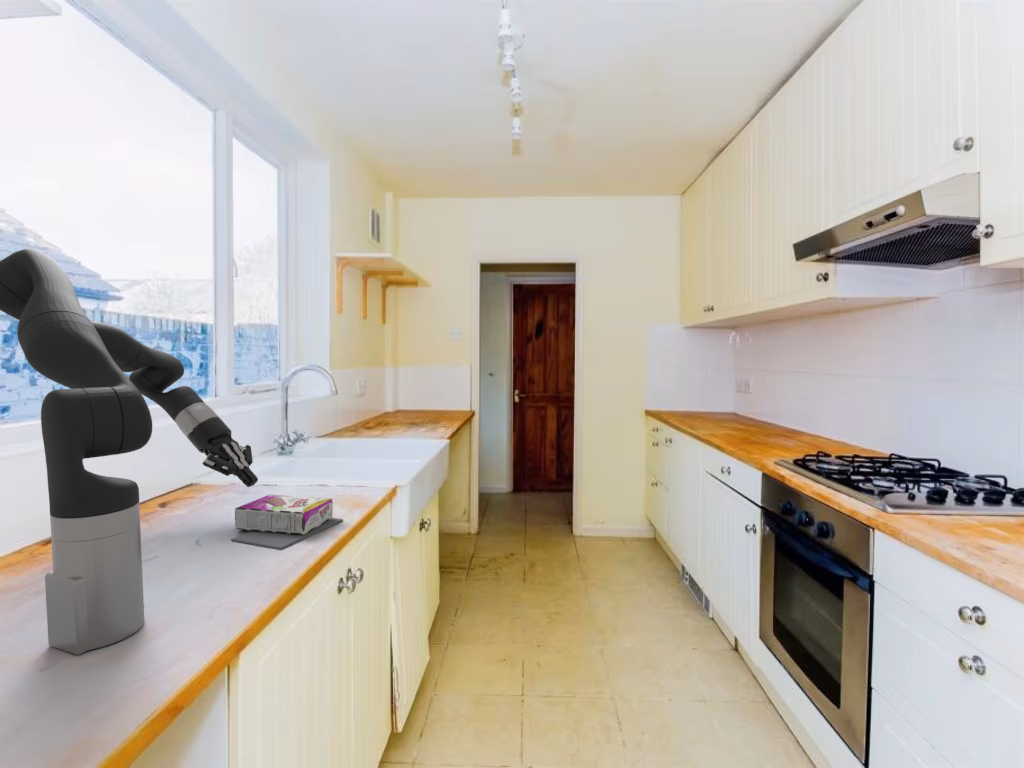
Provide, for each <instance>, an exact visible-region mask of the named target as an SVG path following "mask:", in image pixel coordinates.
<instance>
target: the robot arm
mask: <svg viewBox="0 0 1024 768" xmlns="http://www.w3.org/2000/svg"><path fill="white" fill-rule="evenodd" d="M0 311H1V312H3V313H4V314H5V315H6V314H7V315H8V316H10V317H12V318H14V319H15V320H17V321H18V324H17V330H16V332H17V333H16V335H17V340H18V344H19V346H20V347H21V350H22V351H23V352H22V353H23V354H24V356H25V359H26V361H27V363H29V365H30V366H31V367H32V369H34V370H35V371H36V372H37V373H38V374H40V375H42V376H43V377H46V378H47V379H49V380H51V381H53V382H55V383H57V384H60V385H61V386H64V387H66V388H62V389H61V388H60V389H59V388H58V389H54V390H51V391H50V392H48V393H47V394H46V395H45V397H44V399H43V400H42V403H41V409H40V423H41V424H40V425H41V434H42V440H43V449H44V454H45V455H44V456H45V465H46V475H47V476H46V478H47V488H48V489H47V491H48V499H49V500H48V503H49V514H50V515H49V517H50V522H49V523H50V536H51V538H50V539H51V540H50V541H51V555H52V556H51V557H52V571H50V572H47V573H46V574H45V575H44V584H45V605H46V620H47V621H46V623H47V639H48V646H50V647H53V648H56V649H59V650H62V651H65V652H68V653H71V654H74V655H75V656H76V655H80V654H83V653H85V652H87V651H90V650H94V649H99V648H103V647H106V646H108V645H109V646H110V645H112V644H115V643H117V642H119V641H122V640H124V639H127V638H128V637H130V636H132V635H134V634H135V633H136V632H138V631H139V630H140V629H141V628H142V627H143V626H144V624H145V602H144V580H143V579H144V578H143V560H142V559H143V555H142V554H143V553H142V535H141V534H142V533H141V532H142V530H141V509H140V507H141V506H140V504H141V503H140V491H139V490H140V489H139V485H138V483H137V482H136V481H134V480H132V479H129V478H123V477H115V476H114V477H113V476H105V475H102V474H101V475H100V474H97V473H93V472H91V471H89V470H87V469H85V466H84V461H83V460H84V459H92V458H93V459H94V458H100V457H108V456H116V455H122V454H128V453H131V452H135V451H138V450H141V449H142V448H144V447H145V446H146V445H147V444H148V443H149V441H150V439H151V438H152V434H153V419H152V414H151V411H150V408H149V406H148V403H147V401H146V400H145V398H147V399H148V400H151V401H153V402H154V403H155V404H157V405H158V406H159V407H160V408H162V410H163V411H165V412H166V413H167V414H168V416H169V417H170V418H171V419H172V420H173V422H174V423H175V424H176V425H177V427H178V428H179V430H180V431H181V433H182V434H183V435H184V436H185V437H186V439H188V440H189V442H191V444H192V446H193V447H195V449H197V451H198V452H200V453H202V454H205V456H206V458H205V459H204V461H202V465H203V466H205V467H207V468H208V469H211V470H213V471H216V472H218V473H220V474H222V475H224V476H227V477H229V476H230V475H233V476H234V477H237V478H238V479H239V480H240V481H241V482H242V483H243V485H245V486H246V487H247V488H250V487H253V486H255V485H256V483H257V482H258V481H259V478H258V477H257V475H256V474H255V473H254V472H253V471H252V470H251V469H250V466H251V465H252V464H253V463H254V460H253V453H252V452H253V451H252V447H251V445H249V444H246V445H245V446H242V445H239V442H237V441H236V440H235V439H233V438H232V430H231V429H230V428H229V426H227V424H226V423H225V422H224V420H223V419H222V418H221V417H220V416H219V415H218V414H217V413H216V412H215V411H214V410H213V409H212V408H211V407H210V406H209V405H208V404H206V403H205V401H204V400H203V399H202V398H201V397H200V396H199V394H197V392H196V391H195V390H194V389H193V388H192V387H190V386H187V385H182V386H177V387H175V388H173V389H170V390H168V391H165V390H167V389H168V388H169V387H171V386H173V385H174V384H175V383H176V382H177V381H178V380H180V379H182V378H183V376H184V373H185V368H184V365H183V363H182V362H181V361H180V360H179V359H178V358H177V357H175V356H174V355H172V354H170V353H168V352H166V351H161V350H159V349H157V348H153V347H150V346H147V345H145V344H143V343H141V342H140V341H138V340H137V339H135V337H133V336H132V335H130V334H128V332H126V331H125V330H123V329H121V328H119V327H117V326H115V325H112V324H109V323H105V322H100V321H95V320H90V318H89V317H88V315H87V313H86V312H85V310H84V309H83V308H82V306H81V303H80V302H79V298H78V295H77V292H76V289H75V288H74V285H73V282H72V280H71V279H70V277H69V275H68V274H67V273H66V272H65V269H63V267H62V266H60V264H59V263H58V262H57V261H55V260H54V259H53V258H52V257H50V256H49V255H48V254H46V253H44V252H42V251H39V250H36V249H32V248H24V249H21V250H17V251H15V252H12V253H11V254H9V255H8V256H6V257H4V258H3V259H2V260H0ZM126 373H130V374H129V377H128V376H127V374H126ZM164 391H165V392H164ZM144 397H145V398H144Z"/></svg>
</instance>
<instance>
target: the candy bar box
mask: <svg viewBox="0 0 1024 768" xmlns="http://www.w3.org/2000/svg"><path fill="white" fill-rule="evenodd" d="M234 517H235V518H234V520H235V521H234V522H235V523H234V527H235V529H234V530H240V531H264V532H276V533H288V534H301V535H304V534H306V533H307V532H309V531H311V530H313V529H315V528H317V527H318V526H320V525H322V524H324V523H326V522H327V521H329V520H331V519H332V518H333V498H328V497H326V498H325V497H313V496H310V497H309V496H297V495H296V496H295V495H291V496H290V495H279V494H277V495H276V494H268V495H265V496H262V497H260V498H257V499H255V500H252V501H250V502H248V503H245V504H243V505H240V506H237V507H235V508H234Z"/></svg>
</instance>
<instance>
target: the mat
mask: <svg viewBox="0 0 1024 768" xmlns="http://www.w3.org/2000/svg"><path fill="white" fill-rule="evenodd" d="M343 521H344V519H343V518H339V517H337V518H336V517H332V519H331V520H329V521H327V522H326V523H324V524H322V525H320V526H318V527H317V528H315V529H313V530H311V531H309V532H307V533H306V534H304V535H301V534H288V533H276V532H264V531H251V530H249V531H248V532H244V533H242V534H241V535H237V536H235V537H233V538H230V541H231V542H235V543H236V542H237V543H241V544H246V545H251V546H258V547H263V548H269V549H275V550H280V551H281V550H284V549H286V548H288V547H290V546H293V545H294V544H297V543H299V542H301V541H304V540H305V539H307V538H310V537H311V536H314V535H316V534H318V533H320V532H323V531H325V530H327V529H329V528H331V527H334V526H335V525H338V524H339V523H342V522H343Z"/></svg>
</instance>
